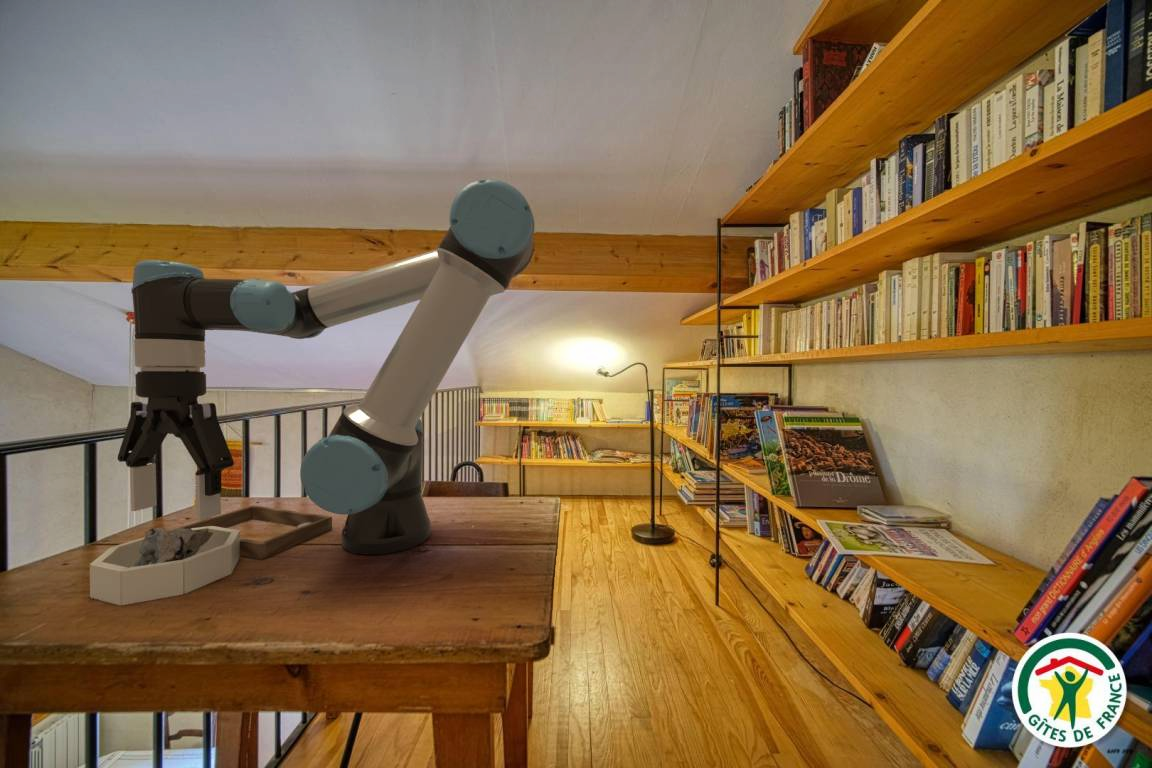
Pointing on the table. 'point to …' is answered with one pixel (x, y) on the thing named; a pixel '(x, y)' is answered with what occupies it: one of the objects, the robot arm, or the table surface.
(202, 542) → the mineral specimen
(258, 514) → the frame
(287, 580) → the table surface
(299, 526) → the pebble
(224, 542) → the bowl
